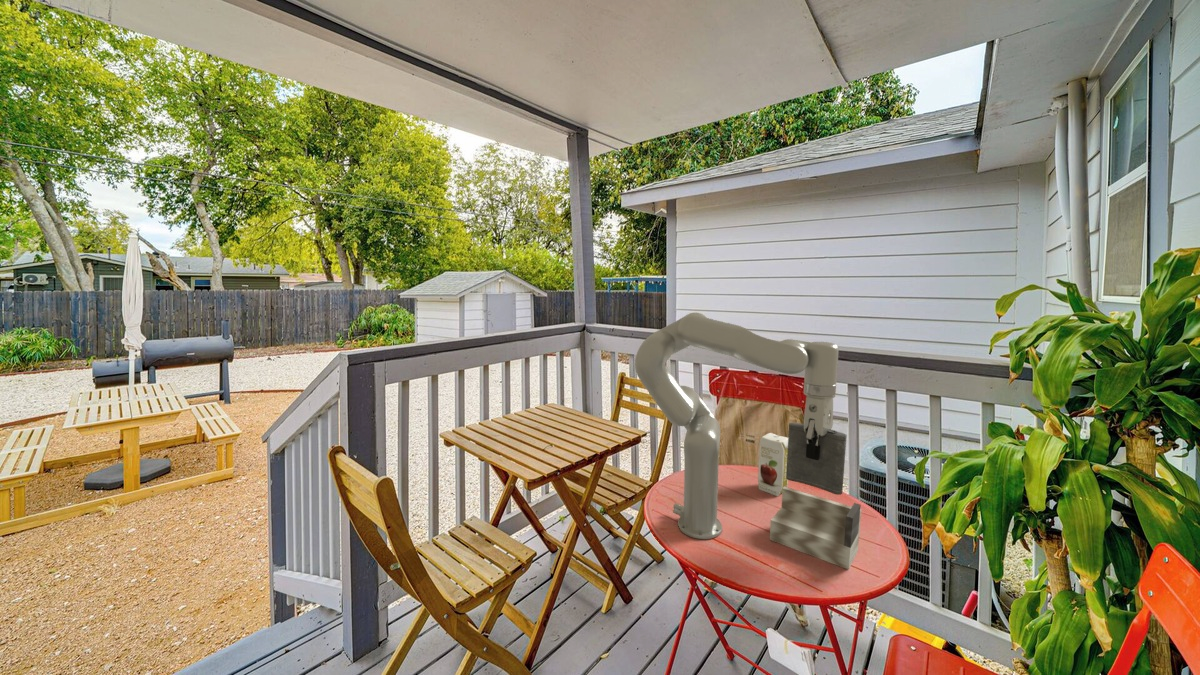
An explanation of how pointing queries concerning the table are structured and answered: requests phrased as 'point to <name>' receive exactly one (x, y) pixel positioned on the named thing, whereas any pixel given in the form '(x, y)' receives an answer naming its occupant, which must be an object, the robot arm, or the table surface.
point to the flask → (816, 472)
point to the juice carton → (773, 464)
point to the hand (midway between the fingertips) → (815, 455)
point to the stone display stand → (817, 527)
